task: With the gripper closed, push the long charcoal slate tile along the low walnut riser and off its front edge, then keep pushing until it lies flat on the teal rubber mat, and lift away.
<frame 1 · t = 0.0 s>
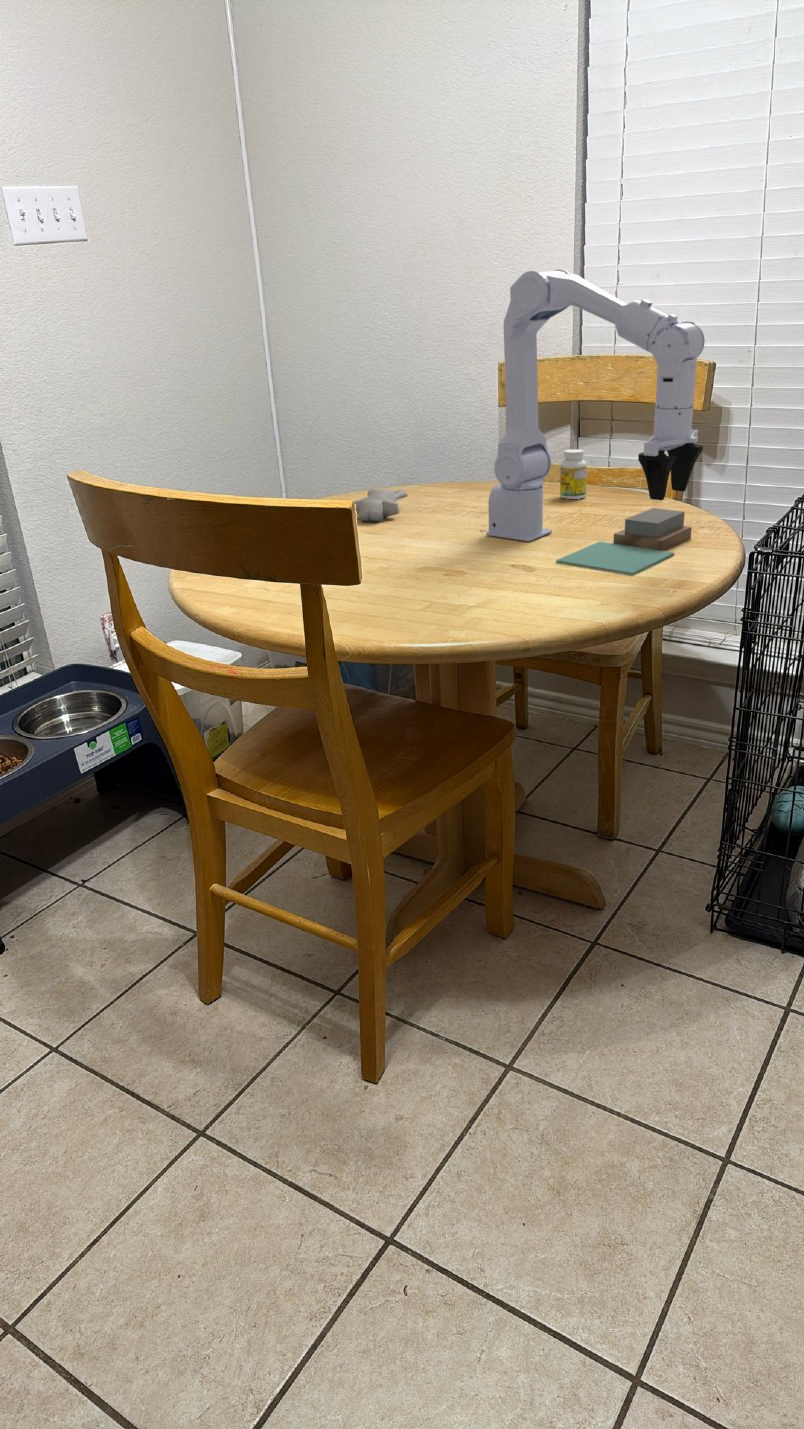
hand: (668, 494, 156), 10 cm above the table, tool pointing down, fingers open, 7 cm apart
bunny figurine: (380, 516, 197), on the table
slate tile: (654, 529, 168), point 2 cm above the table, touching walnut riser
walnut riser: (652, 541, 169), on the table
teal mat: (615, 558, 160), on the table
supplement bottle: (572, 498, 204), on the table
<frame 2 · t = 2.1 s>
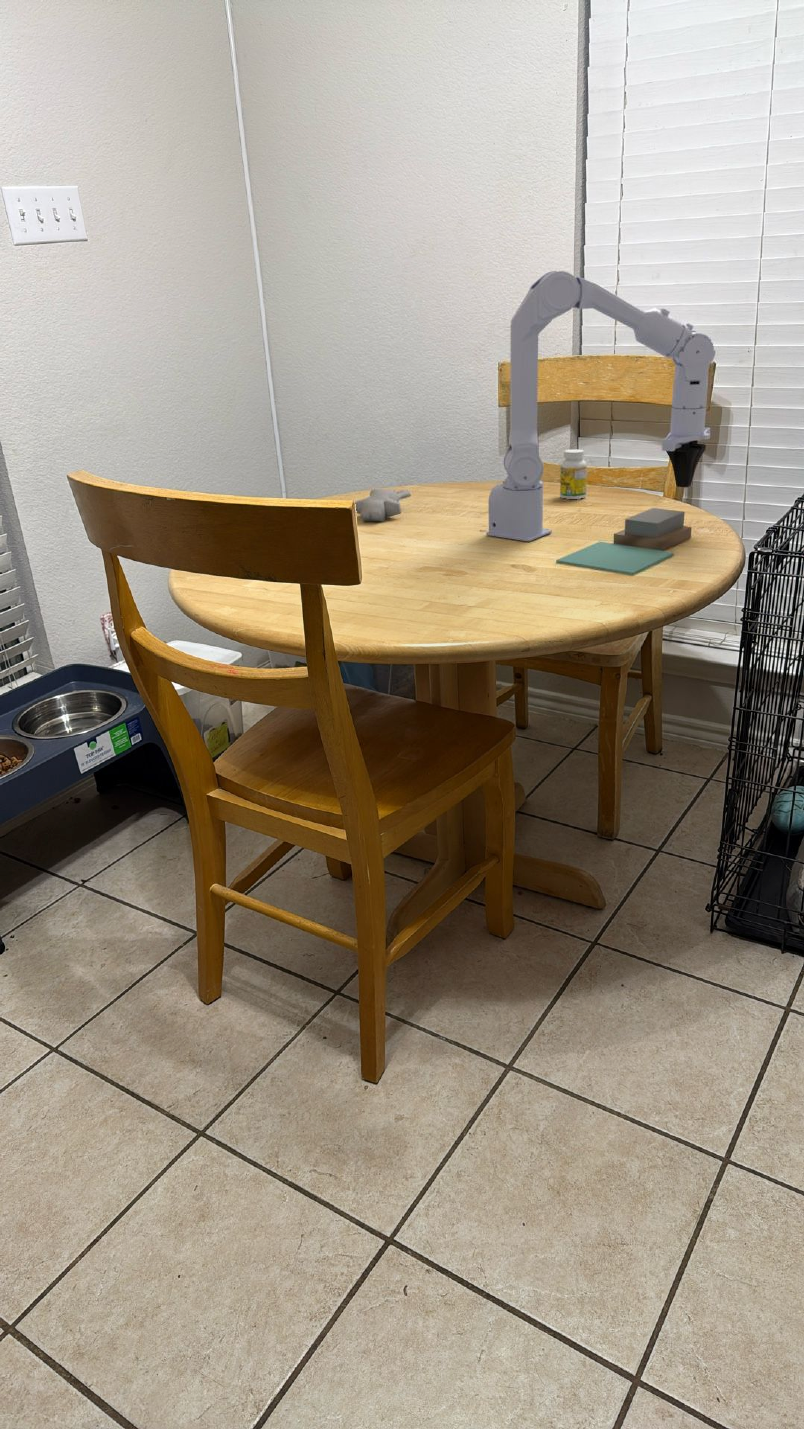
hand: (683, 486, 173), 8 cm above the table, tool pointing down, fingers closed
nothing on the table moved.
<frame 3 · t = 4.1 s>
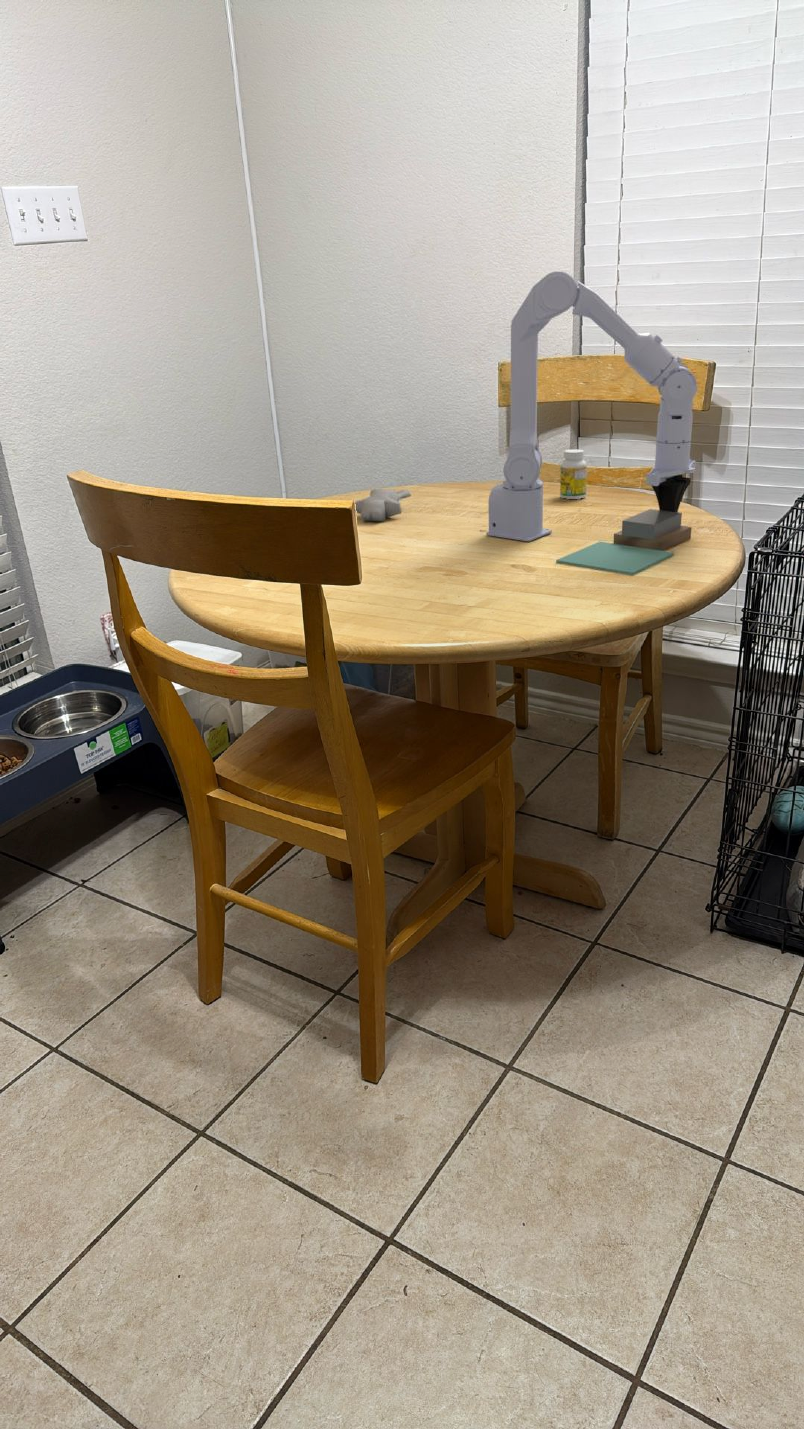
hand: (668, 519, 171), 3 cm above the table, tool pointing down, fingers closed
slate tile: (651, 531, 167), point 2 cm above the table, touching gripper, walnut riser
everything else where it was.
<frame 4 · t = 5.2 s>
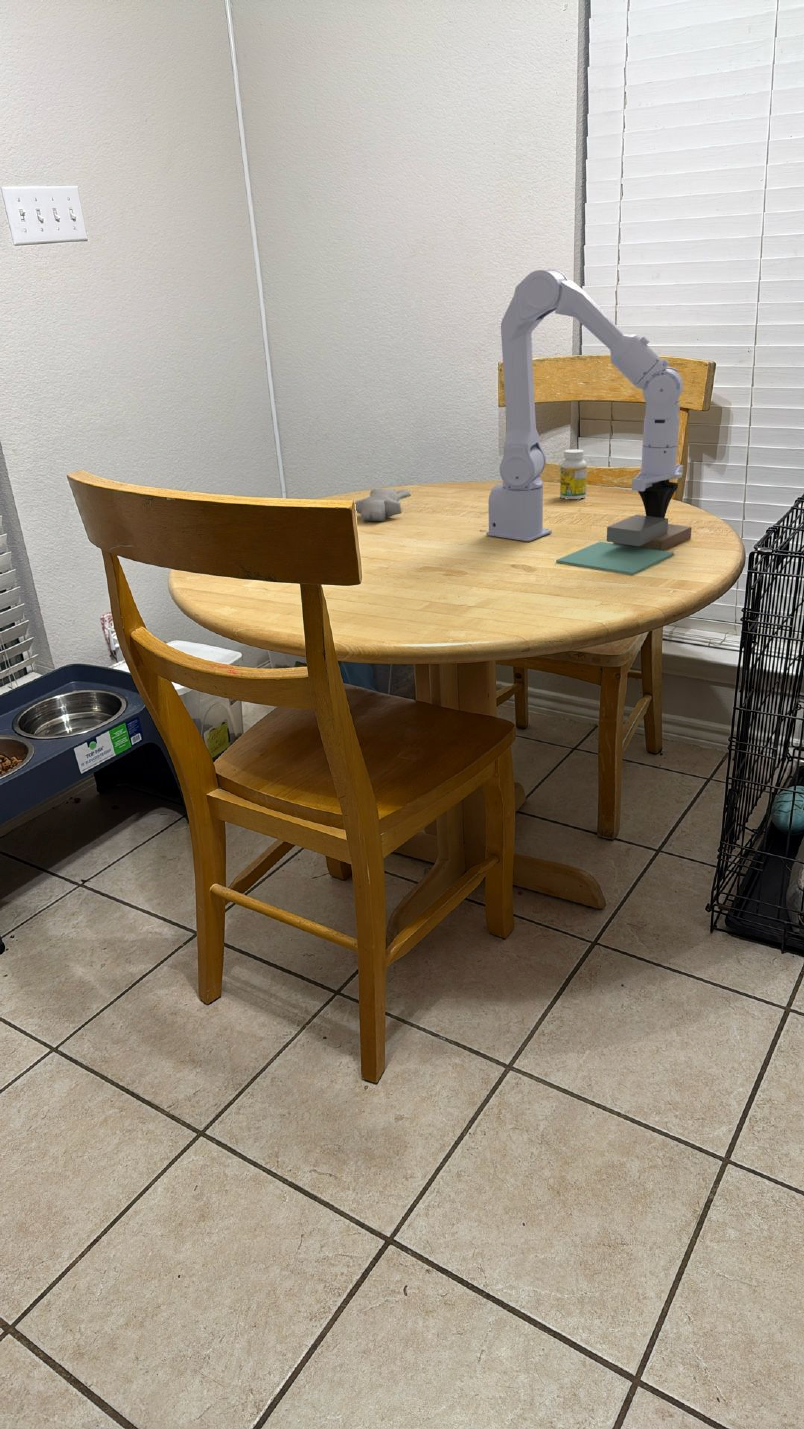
hand: (654, 525, 168), 3 cm above the table, tool pointing down, fingers closed
slate tile: (637, 537, 164), point 2 cm above the table, touching gripper, walnut riser
everything else where it was.
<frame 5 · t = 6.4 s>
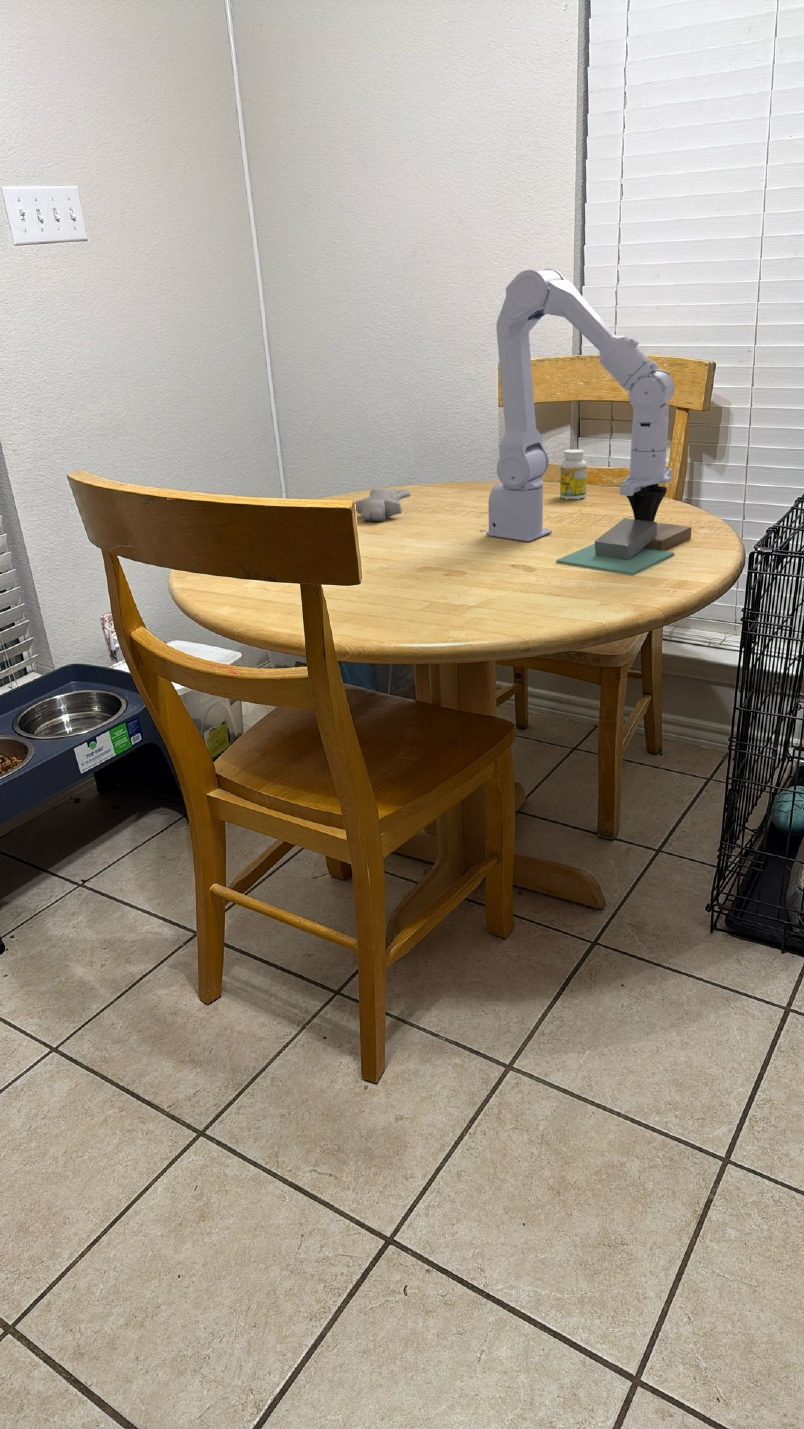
hand: (643, 530, 165), 3 cm above the table, tool pointing down, fingers closed
slate tile: (626, 545, 162), point 1 cm above the table, tilted 11°, touching gripper
everything else where it was.
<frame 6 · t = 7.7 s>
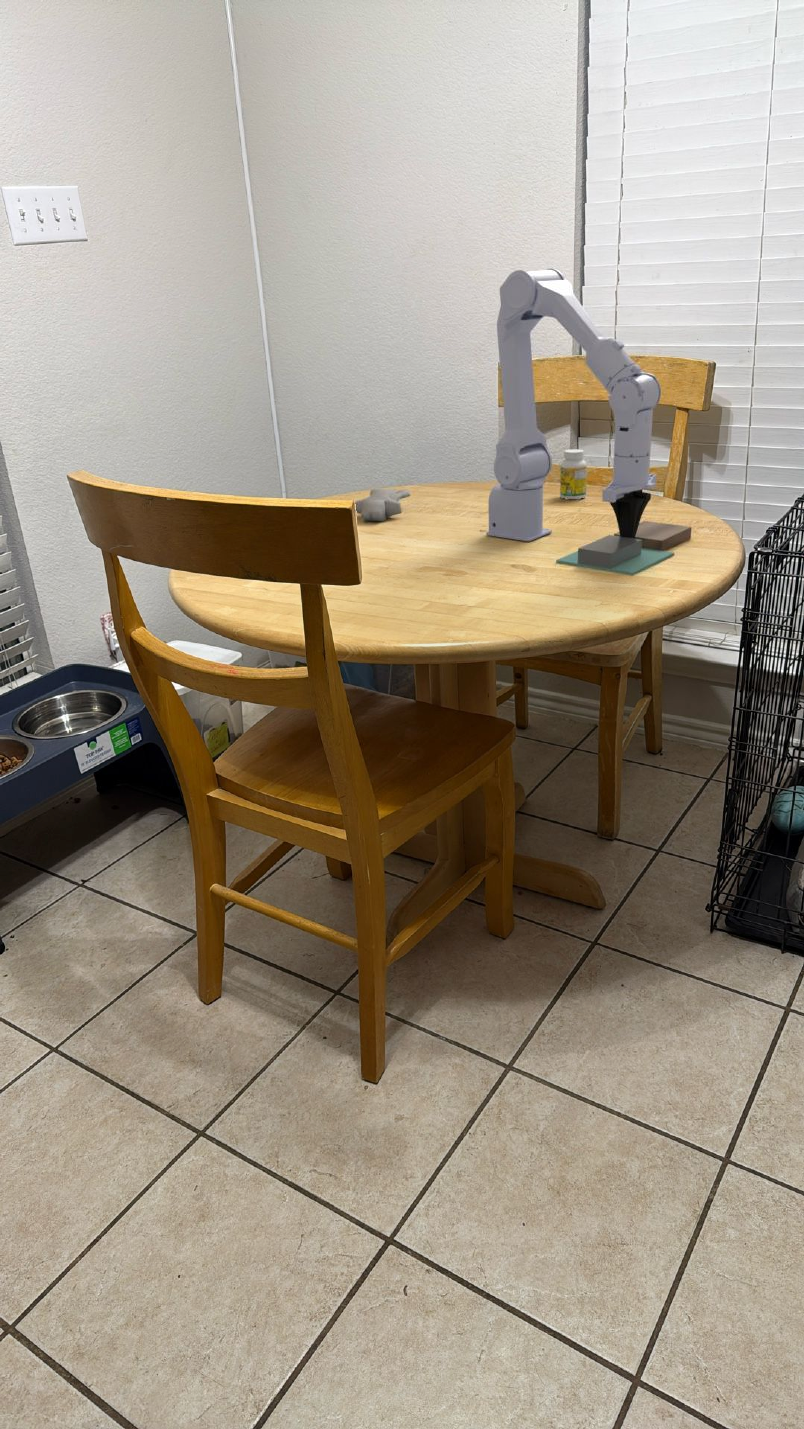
hand: (627, 537, 161), 3 cm above the table, tool pointing down, fingers closed
slate tile: (609, 558, 159), resting on teal mat, touching gripper
everything else where it was.
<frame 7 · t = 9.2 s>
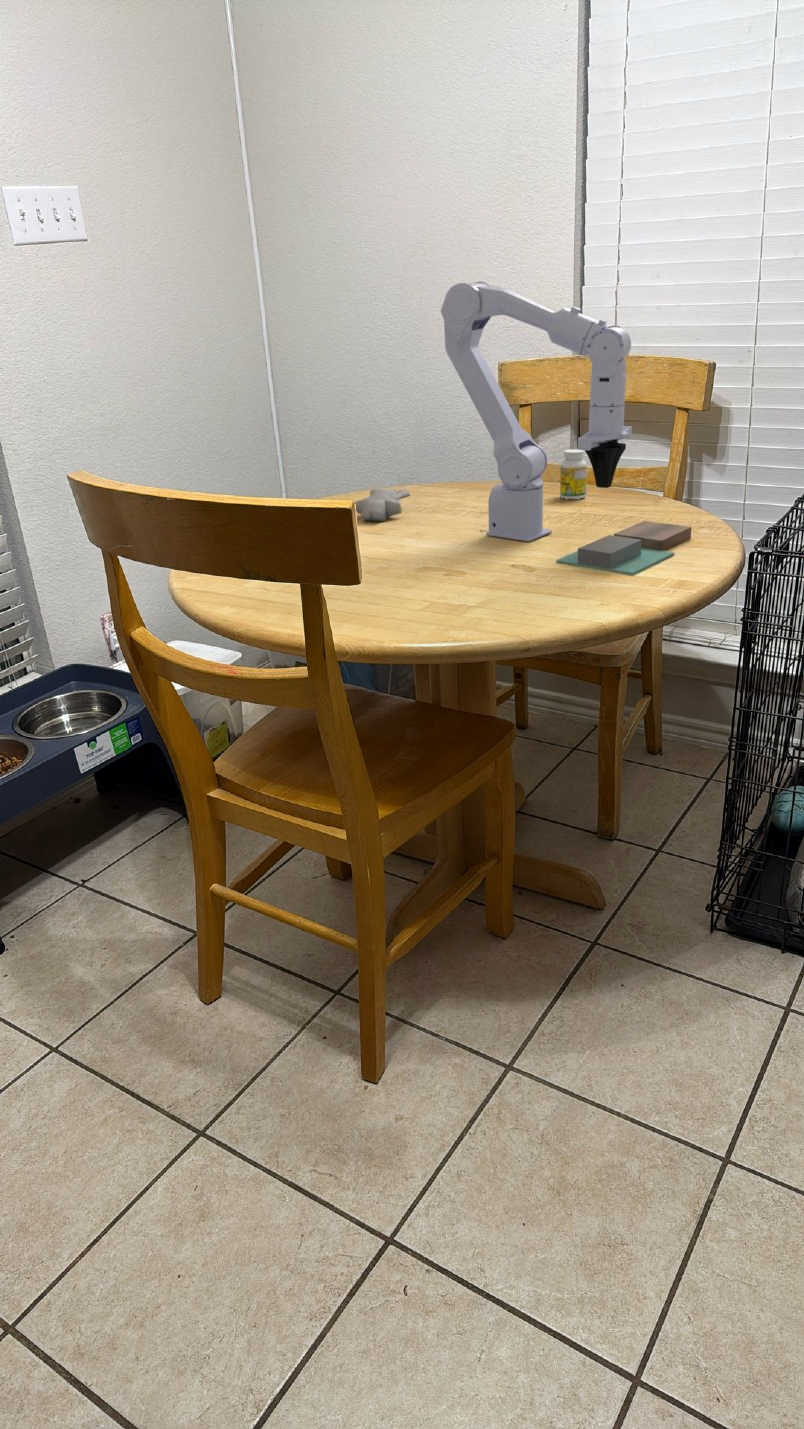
hand: (603, 487, 167), 9 cm above the table, tool pointing down, fingers closed
slate tile: (609, 558, 159), resting on teal mat
everything else where it was.
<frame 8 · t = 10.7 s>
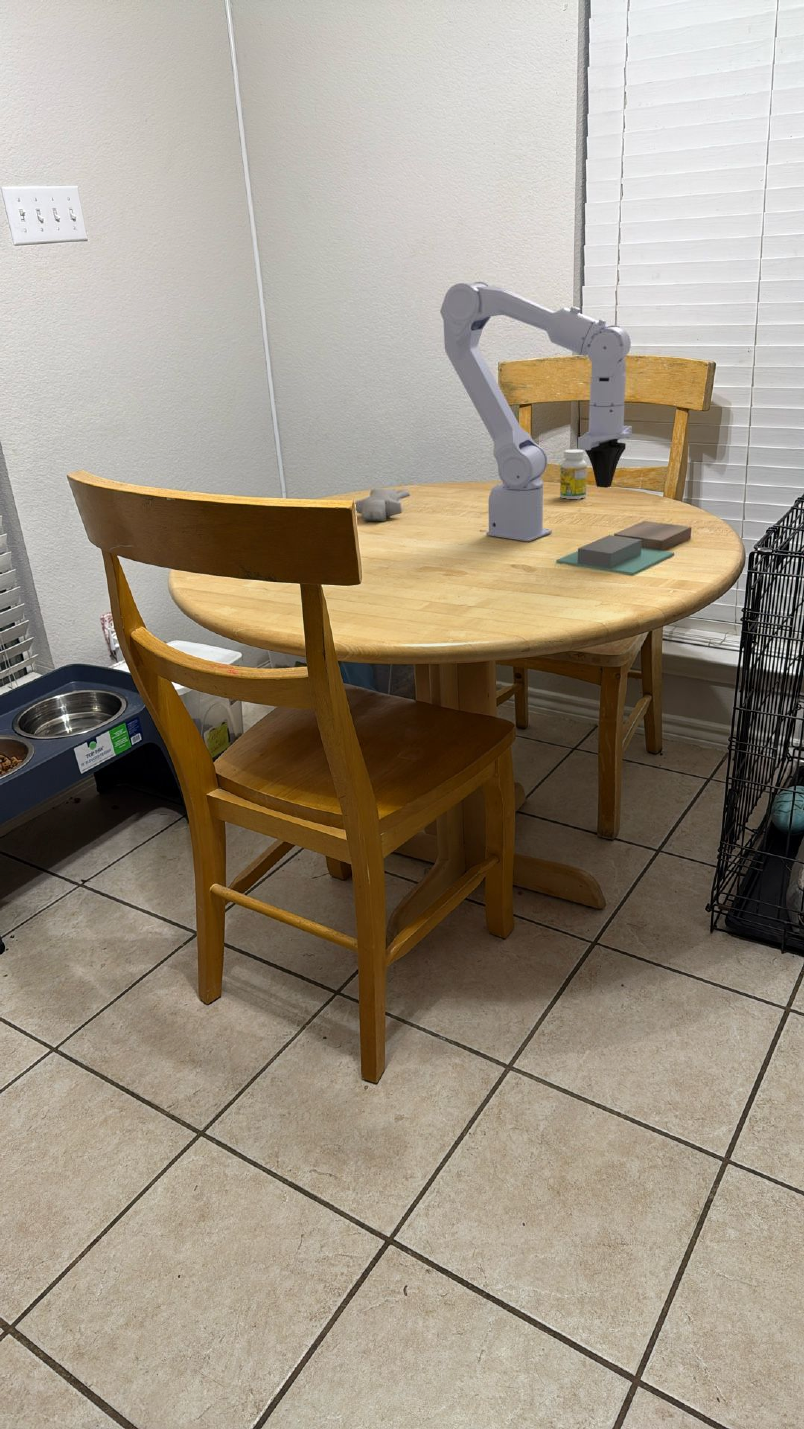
hand: (603, 486, 167), 9 cm above the table, tool pointing down, fingers closed
nothing on the table moved.
at the end: slate tile inside the target area (0.2 cm from its centre), resting on teal mat; slate tile tilted 0°; slate tile touching teal mat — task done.
